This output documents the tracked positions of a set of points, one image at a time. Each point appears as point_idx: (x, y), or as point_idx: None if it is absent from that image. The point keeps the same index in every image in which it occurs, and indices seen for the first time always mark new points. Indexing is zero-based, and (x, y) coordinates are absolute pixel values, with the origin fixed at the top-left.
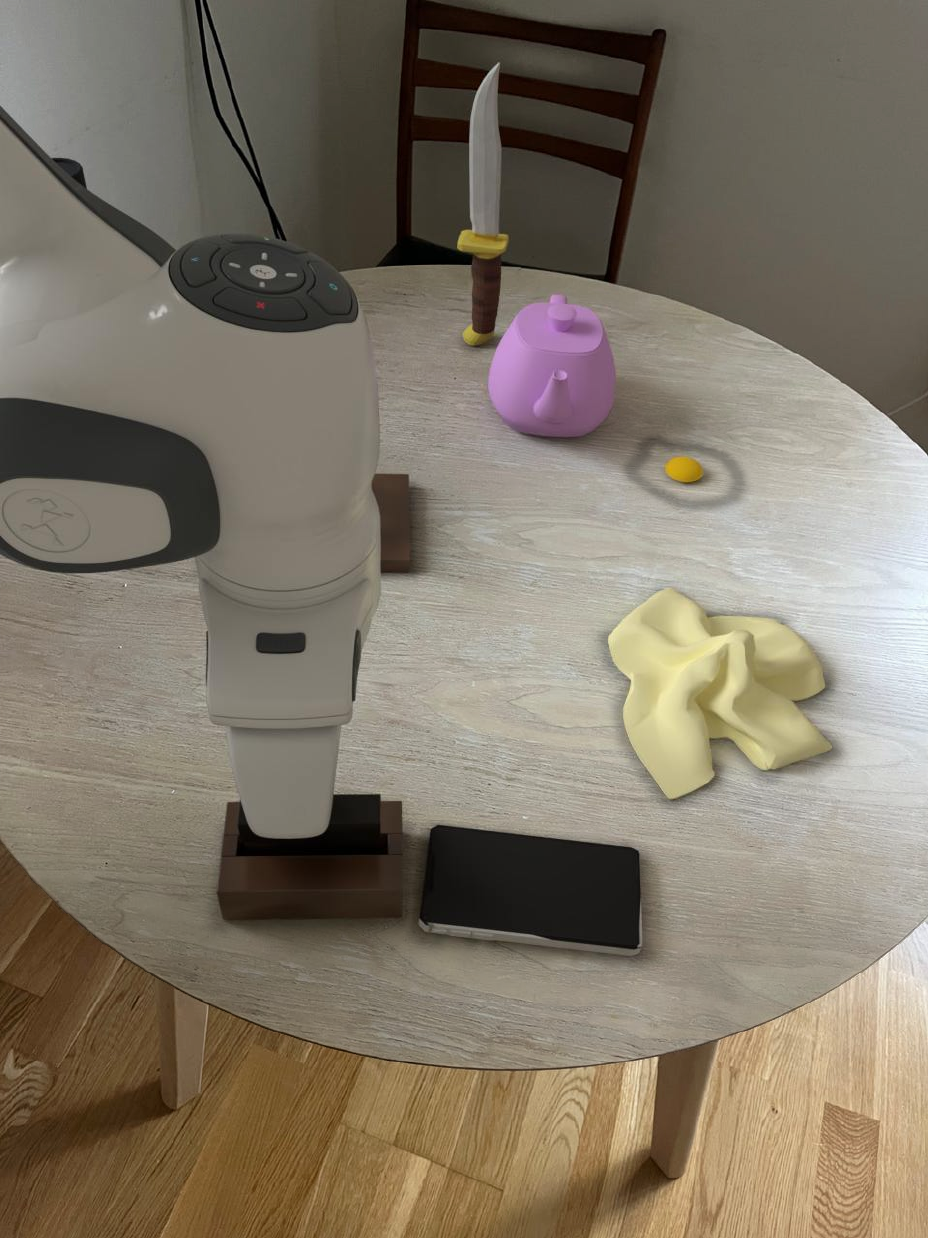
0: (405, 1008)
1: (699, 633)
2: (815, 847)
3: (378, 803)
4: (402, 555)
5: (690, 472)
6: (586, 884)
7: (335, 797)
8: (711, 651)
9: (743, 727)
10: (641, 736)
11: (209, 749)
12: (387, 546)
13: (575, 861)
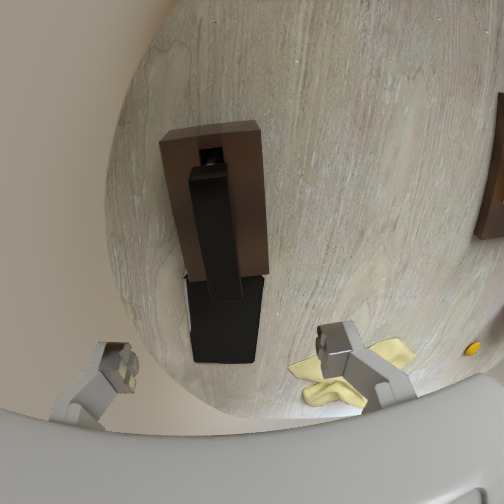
0: (134, 263)
1: None
2: (262, 401)
3: (231, 300)
4: (484, 234)
5: (469, 353)
6: (228, 346)
7: (234, 267)
8: None
9: (323, 392)
10: None
11: (343, 88)
12: (493, 224)
13: (242, 342)
